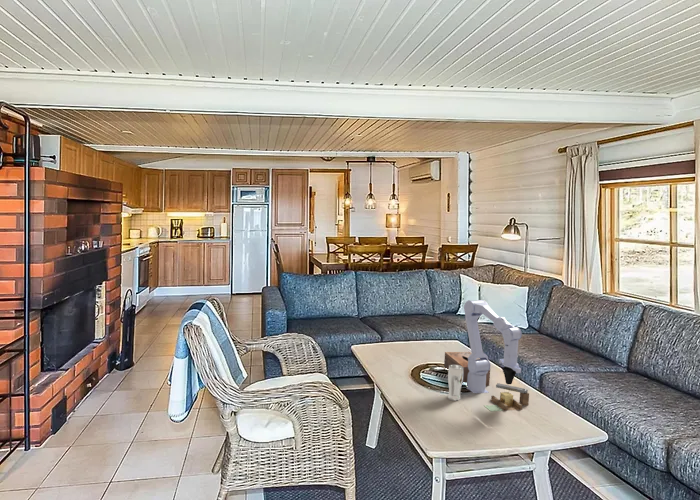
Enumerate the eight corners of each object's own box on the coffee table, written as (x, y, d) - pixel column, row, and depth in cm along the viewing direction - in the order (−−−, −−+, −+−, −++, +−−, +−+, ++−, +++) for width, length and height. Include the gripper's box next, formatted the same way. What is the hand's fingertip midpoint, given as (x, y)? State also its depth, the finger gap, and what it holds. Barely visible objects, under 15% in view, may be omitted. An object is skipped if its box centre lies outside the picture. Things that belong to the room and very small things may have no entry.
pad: (483, 406, 214) (483, 405, 214) (496, 406, 216) (496, 404, 216) (490, 412, 208) (490, 411, 208) (503, 411, 210) (503, 410, 210)
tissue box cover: (489, 386, 243) (490, 366, 242) (461, 386, 240) (463, 366, 240) (468, 369, 268) (469, 352, 267) (443, 369, 266) (444, 352, 265)
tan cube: (499, 403, 218) (500, 392, 218) (507, 402, 219) (508, 392, 219) (504, 406, 214) (505, 395, 214) (512, 406, 215) (513, 395, 215)
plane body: (490, 401, 222) (490, 388, 221) (519, 399, 225) (519, 387, 225) (504, 411, 210) (505, 398, 210) (534, 409, 213) (535, 397, 213)
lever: (497, 385, 226) (497, 383, 226) (528, 391, 219) (528, 389, 219) (495, 387, 223) (496, 384, 223) (526, 393, 217) (527, 391, 216)
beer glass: (451, 401, 219) (452, 369, 218) (444, 396, 225) (445, 364, 224) (464, 400, 220) (466, 368, 219) (457, 395, 227) (459, 364, 226)
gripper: (528, 358, 210) (526, 389, 211) (509, 349, 224) (507, 378, 225) (513, 359, 208) (511, 389, 209) (496, 349, 222) (494, 378, 223)
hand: (508, 383), depth 217 cm, fingers closed
